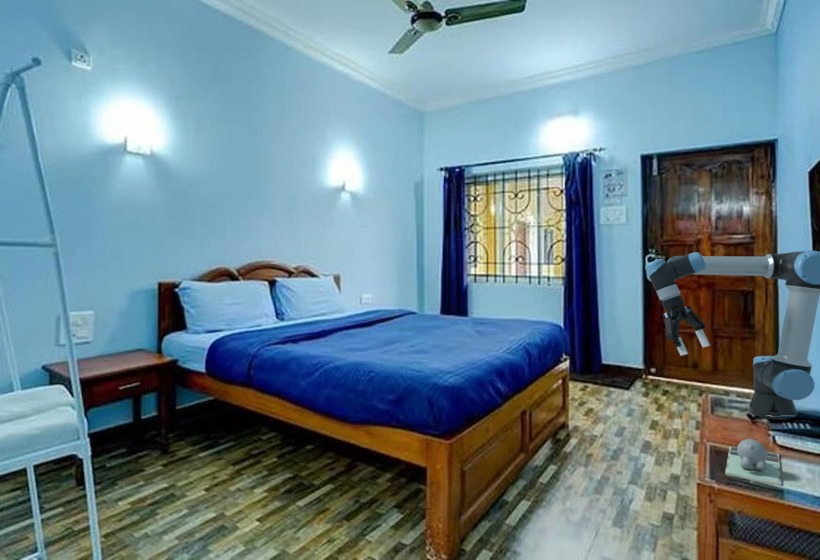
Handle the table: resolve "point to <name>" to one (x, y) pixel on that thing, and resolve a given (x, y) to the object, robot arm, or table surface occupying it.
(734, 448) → the dark gray parallel strips
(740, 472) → the pad
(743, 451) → the chubby cartoon animal
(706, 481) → the table surface
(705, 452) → the table surface
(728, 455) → the board
